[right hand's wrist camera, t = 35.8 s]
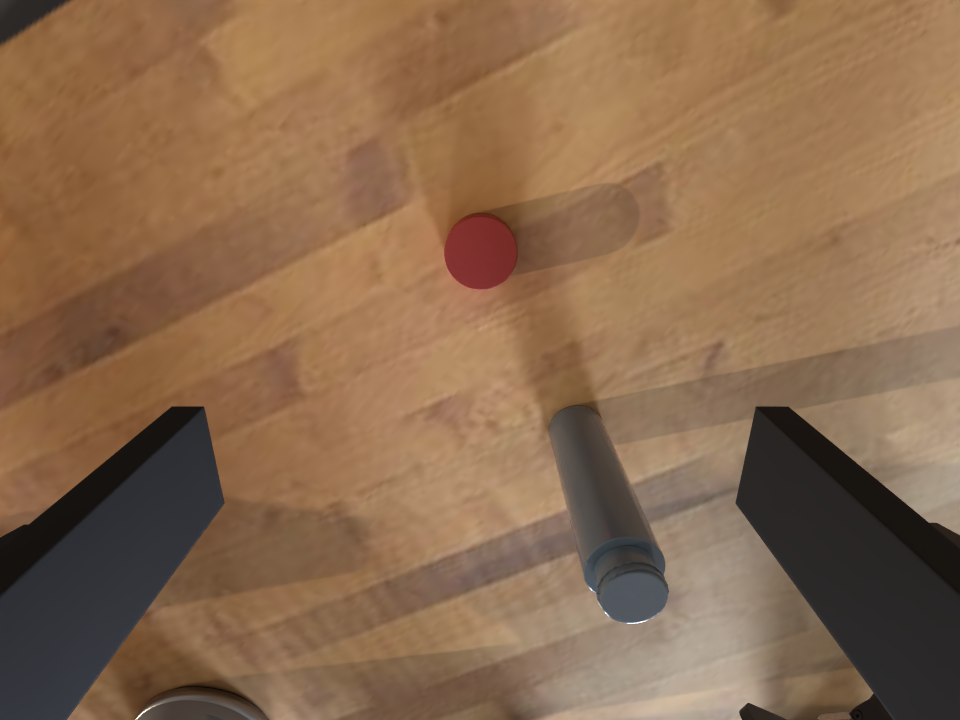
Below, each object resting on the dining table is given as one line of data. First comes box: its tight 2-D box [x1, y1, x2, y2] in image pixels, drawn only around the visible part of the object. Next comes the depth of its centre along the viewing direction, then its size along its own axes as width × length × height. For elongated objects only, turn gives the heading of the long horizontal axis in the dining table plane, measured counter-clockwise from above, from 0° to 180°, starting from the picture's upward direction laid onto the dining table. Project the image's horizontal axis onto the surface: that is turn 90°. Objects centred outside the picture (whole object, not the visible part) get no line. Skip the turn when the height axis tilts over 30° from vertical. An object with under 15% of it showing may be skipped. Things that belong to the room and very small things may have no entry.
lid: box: [444, 213, 517, 290], centre depth 39 cm, size 5×5×2 cm
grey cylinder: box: [549, 406, 669, 623], centre depth 37 cm, size 5×5×18 cm
